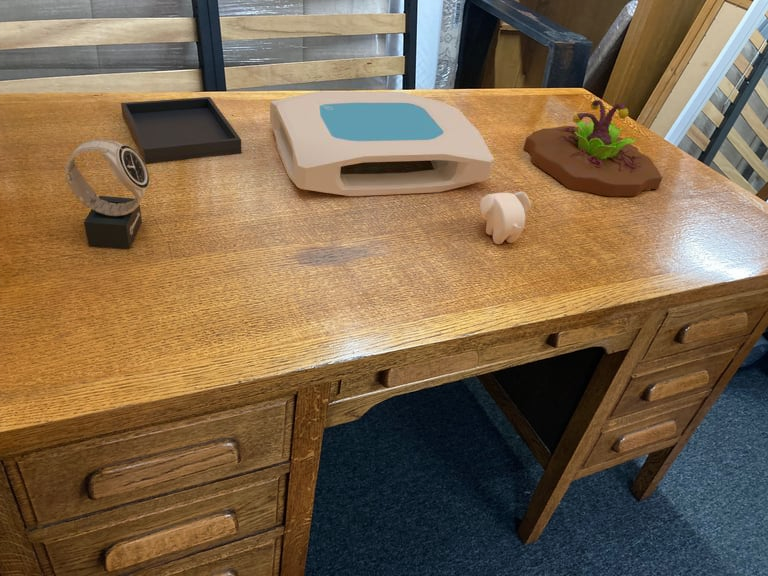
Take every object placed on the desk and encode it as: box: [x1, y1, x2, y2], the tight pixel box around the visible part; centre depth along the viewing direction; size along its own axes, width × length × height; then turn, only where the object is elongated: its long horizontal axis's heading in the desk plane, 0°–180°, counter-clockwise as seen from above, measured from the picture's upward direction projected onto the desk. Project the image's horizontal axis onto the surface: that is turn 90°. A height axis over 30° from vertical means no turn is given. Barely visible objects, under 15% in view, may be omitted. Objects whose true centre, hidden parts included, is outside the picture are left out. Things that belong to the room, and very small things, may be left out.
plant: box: [523, 99, 663, 197], centre depth 98 cm, size 20×20×11 cm
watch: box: [64, 138, 150, 250], centre depth 67 cm, size 6×8×11 cm
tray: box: [120, 96, 242, 164], centre depth 91 cm, size 15×13×2 cm
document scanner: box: [269, 90, 495, 197], centre depth 91 cm, size 21×28×6 cm
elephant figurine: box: [478, 190, 532, 245], centre depth 79 cm, size 7×8×6 cm
